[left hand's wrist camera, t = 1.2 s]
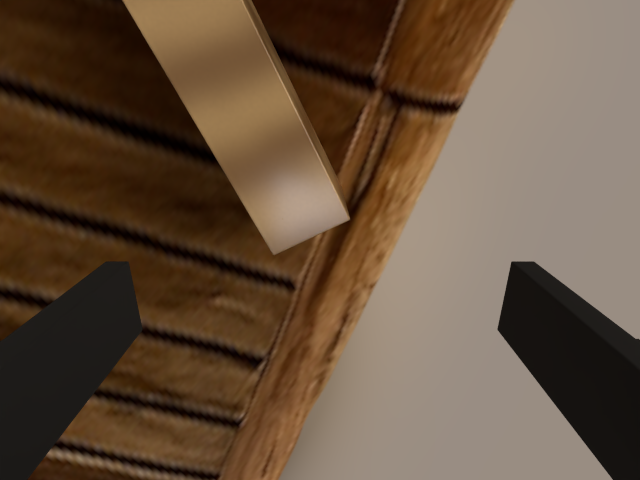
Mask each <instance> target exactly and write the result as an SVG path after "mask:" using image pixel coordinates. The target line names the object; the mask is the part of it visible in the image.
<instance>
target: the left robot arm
mask: <svg viewBox="0 0 640 480" xmlns="http://www.w3.org/2000/svg"><path fill="white" fill-rule="evenodd" d="M141 331H142V325H141V320H140V315H139V310H138V305H137V301H136V296H135V291H134V286H133V281H132V276H131V272H130V267H129V262H105V263H104V264H102V265H101V266H100V267H98V268H97V269H96V270H94V271H93V272H92V273H90V274H89V275H88V276H87V277H85V278H84V279H83V280H81V281H80V282H79V283H77V284H76V285H75V286H73V287H72V288H71V289H69V290H68V291H67V292H65V293H64V294H63V295H62V296H60V297H59V298H58V299H56V300H55V301H54V302H52V303H51V304H50V305H48V306H47V307H46V308H44V309H43V310H42V311H40V312H39V313H38V314H37V315H35V316H34V317H33V318H31V319H30V320H29V321H27V322H26V323H25V324H23V325H22V326H21V327H19V328H18V329H17V330H15V331H14V332H13V333H12V334H10V335H9V336H8V337H6V338H5V339H4V340H2V341H0V480H27V479H28V478H29V476H30V475H31V474H32V473H33V471H34V470H35V469H36V467H37V466H38V465H39V463H40V462H41V461H42V460H43V458H44V457H45V456H46V454H47V453H48V452H49V450H50V449H51V448H52V447H53V445H54V444H55V443H56V441H57V440H58V439H59V437H60V436H61V435H62V434H63V432H64V431H65V430H66V428H67V427H68V426H69V424H70V423H71V422H72V421H73V419H74V418H75V417H76V415H77V414H78V413H79V411H80V410H81V409H82V408H83V406H84V405H85V404H86V402H87V401H88V400H89V398H90V397H91V396H92V395H93V393H94V392H95V391H96V389H97V388H98V387H99V385H100V384H101V383H102V382H103V380H104V379H105V378H106V376H107V375H108V374H109V372H110V371H111V370H112V369H113V367H114V366H115V365H116V363H117V362H118V361H119V359H120V358H121V357H122V356H123V354H124V353H125V352H126V350H127V349H128V348H129V347H130V345H131V344H132V343H133V341H134V340H135V339H136V337H137V336H138V335H139V334H140V332H141ZM498 331H499V332H500V334H501V335H502V336H503V337H504V339H505V340H506V341H507V343H508V344H509V345H510V347H511V348H512V349H513V350H514V352H515V353H516V354H517V355H518V357H519V358H520V359H521V361H522V362H523V363H524V365H525V366H526V367H527V368H528V370H529V371H530V372H531V374H532V375H533V376H534V378H535V379H536V380H537V382H538V383H539V384H540V385H541V387H542V388H543V389H544V391H545V392H546V393H547V395H548V396H549V397H550V398H551V400H552V401H553V402H554V404H555V405H556V406H557V408H558V409H559V410H560V411H561V413H562V414H563V415H564V417H565V418H566V419H567V421H568V422H569V423H570V424H571V426H572V427H573V428H574V430H575V431H576V432H577V434H578V435H579V436H580V437H581V439H582V440H583V441H584V443H585V444H586V445H587V447H588V448H589V449H590V450H591V452H592V453H593V454H594V455H595V457H596V458H597V459H598V461H599V462H600V463H601V465H602V466H603V467H604V469H605V470H606V471H607V472H608V474H609V475H610V476H611V478H612V479H613V480H640V340H639V339H635V338H634V337H632V336H631V335H630V334H628V333H627V332H626V331H624V330H623V329H622V328H621V327H619V326H618V325H617V324H615V323H614V322H613V321H611V320H610V319H609V318H607V317H606V316H605V315H603V314H602V313H601V312H600V311H598V310H597V309H596V308H594V307H593V306H592V305H590V304H589V303H588V302H586V301H585V300H584V299H582V298H581V297H580V296H578V295H577V294H576V293H575V292H573V291H572V290H571V289H569V288H568V287H567V286H565V285H564V284H563V283H561V282H560V281H559V280H557V279H556V278H555V277H553V276H552V275H551V274H550V273H548V272H547V271H546V270H544V269H543V268H542V267H540V266H539V265H538V264H536V263H535V262H511V267H510V272H509V276H508V281H507V286H506V291H505V296H504V301H503V305H502V310H501V315H500V320H499V325H498Z"/></svg>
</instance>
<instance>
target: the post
mask: <svg viewBox="0 0 640 480" xmlns="http://www.w3.org/2000/svg"><path fill="white" fill-rule="evenodd" d="M122 1H123V2H124V4H125V6H126V7H127V9H128V11H129V12H130V14H131V16H132V17H133V19H134V21H135V22H136V24H137V26H138V28H139V29H140V31H141V33H142V34H143V36H144V38H145V39H146V41H147V43H148V44H149V46H150V48H151V49H152V51H153V53H154V55H155V56H156V58H157V60H158V61H159V63H160V65H161V66H162V68H163V70H164V71H165V73H166V75H167V76H168V78H169V80H170V82H171V83H172V85H173V87H174V88H175V90H176V92H177V93H178V95H179V97H180V98H181V100H182V102H183V103H184V105H185V107H186V109H187V110H188V112H189V114H190V115H191V117H192V119H193V120H194V122H195V124H196V125H197V127H198V129H199V130H200V132H201V134H202V136H203V137H204V139H205V141H206V142H207V144H208V146H209V147H210V149H211V151H212V152H213V154H214V156H215V158H216V159H217V161H218V163H219V164H220V166H221V168H222V169H223V171H224V173H225V174H226V176H227V178H228V179H229V181H230V183H231V185H232V186H233V188H234V190H235V191H236V193H237V195H238V196H239V198H240V200H241V201H242V203H243V205H244V206H245V208H246V210H247V212H248V213H249V215H250V217H251V218H252V220H253V222H254V223H255V225H256V227H257V228H258V230H259V232H260V233H261V235H262V237H263V239H264V240H265V242H266V244H267V245H268V247H269V249H270V250H271V252H272V254H273V255H276V254H278V253H280V252H282V251H284V250H286V249H289V248H291V247H293V246H295V245H297V244H299V243H301V242H303V241H306V240H308V239H310V238H312V237H314V236H316V235H318V234H321V233H323V232H325V231H327V230H329V229H331V228H333V227H335V226H338V225H340V224H342V223H344V222H346V221H348V220H350V218H349V214H348V210H347V206H346V203H345V199H344V195H343V191H342V188H341V185H340V183H339V181H338V178H337V176H336V174H335V172H334V170H333V168H332V166H331V164H330V162H329V160H328V158H327V156H326V154H325V152H324V150H323V147H322V145H321V143H320V141H319V139H318V137H317V135H316V133H315V131H314V129H313V127H312V125H311V123H310V121H309V118H308V116H307V114H306V112H305V110H304V108H303V106H302V104H301V102H300V100H299V98H298V96H297V94H296V92H295V89H294V87H293V85H292V83H291V81H290V79H289V77H288V75H287V73H286V71H285V69H284V67H283V65H282V63H281V60H280V58H279V56H278V54H277V52H276V50H275V48H274V46H273V44H272V42H271V40H270V38H269V36H268V34H267V31H266V29H265V27H264V25H263V23H262V21H261V19H260V17H259V15H258V13H257V11H256V9H255V7H254V5H253V2H252V0H122Z"/></svg>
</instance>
